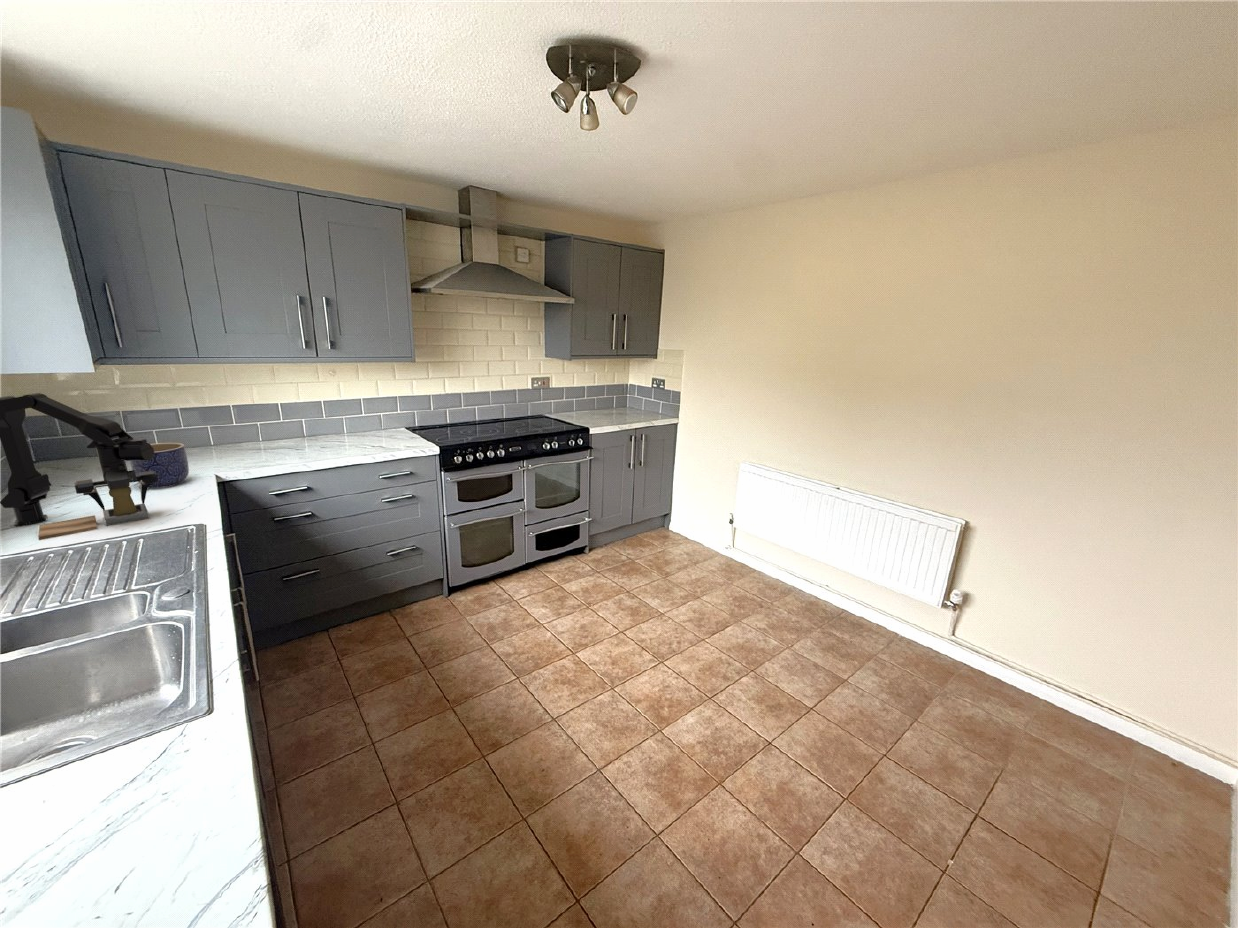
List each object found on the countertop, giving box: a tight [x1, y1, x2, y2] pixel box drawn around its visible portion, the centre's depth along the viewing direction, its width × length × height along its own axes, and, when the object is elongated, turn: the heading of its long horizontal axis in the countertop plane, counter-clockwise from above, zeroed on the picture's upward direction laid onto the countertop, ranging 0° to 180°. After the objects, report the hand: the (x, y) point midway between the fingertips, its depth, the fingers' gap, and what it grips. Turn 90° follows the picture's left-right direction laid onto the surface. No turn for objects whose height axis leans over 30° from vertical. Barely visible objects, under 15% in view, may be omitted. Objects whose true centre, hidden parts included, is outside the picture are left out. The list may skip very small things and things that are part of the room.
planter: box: [128, 442, 190, 489], centre depth 193 cm, size 16×17×15 cm
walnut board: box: [37, 514, 98, 541], centre depth 153 cm, size 12×12×1 cm
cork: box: [108, 486, 138, 516], centre depth 161 cm, size 6×6×11 cm
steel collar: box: [102, 502, 150, 527], centre depth 162 cm, size 10×10×2 cm
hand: (124, 506), depth 161 cm, fingers open, 9 cm apart
